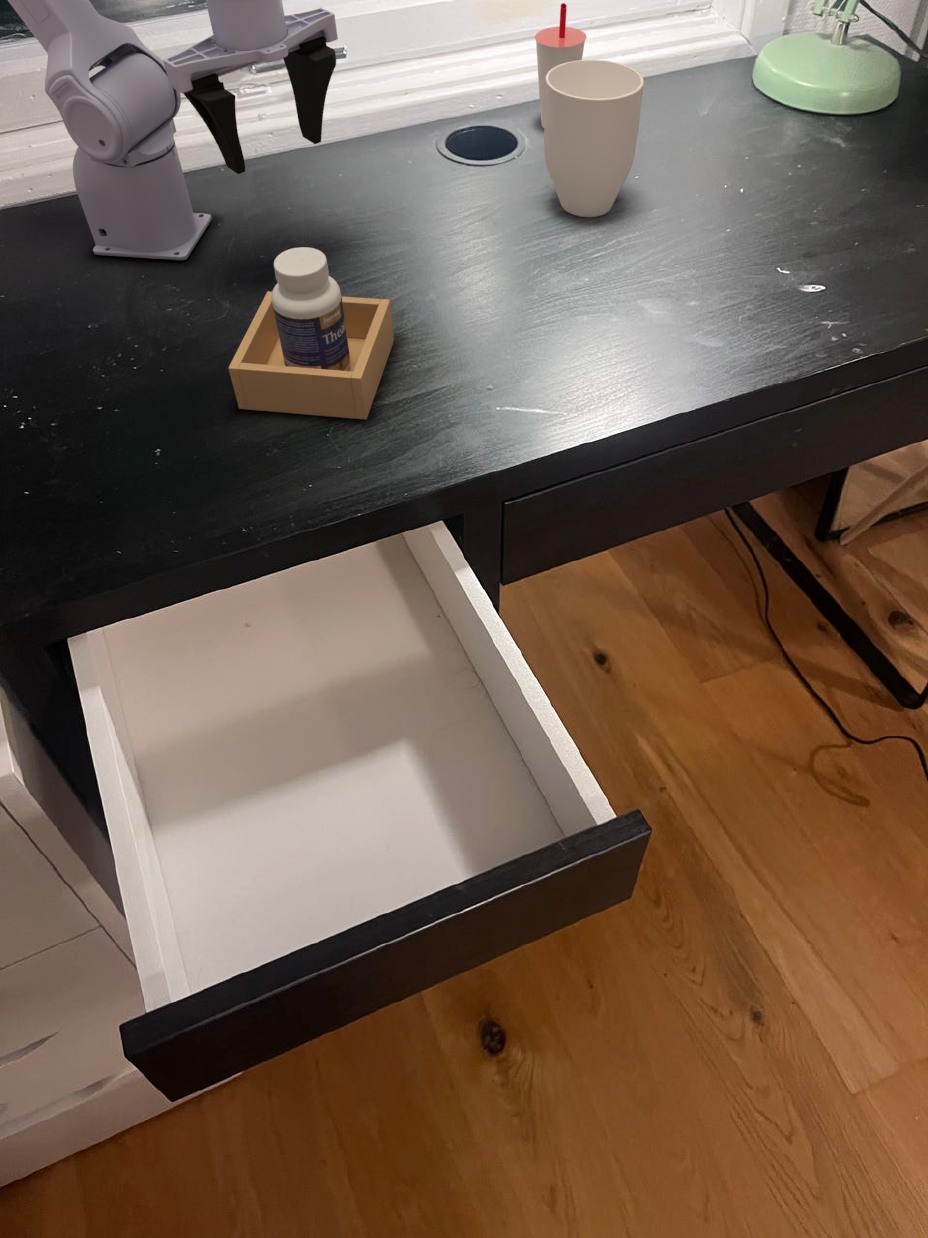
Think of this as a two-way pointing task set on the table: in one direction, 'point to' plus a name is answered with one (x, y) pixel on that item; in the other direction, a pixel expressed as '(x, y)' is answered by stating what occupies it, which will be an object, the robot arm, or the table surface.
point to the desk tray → (308, 389)
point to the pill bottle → (309, 311)
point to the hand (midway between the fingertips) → (274, 153)
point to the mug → (591, 132)
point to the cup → (556, 51)
